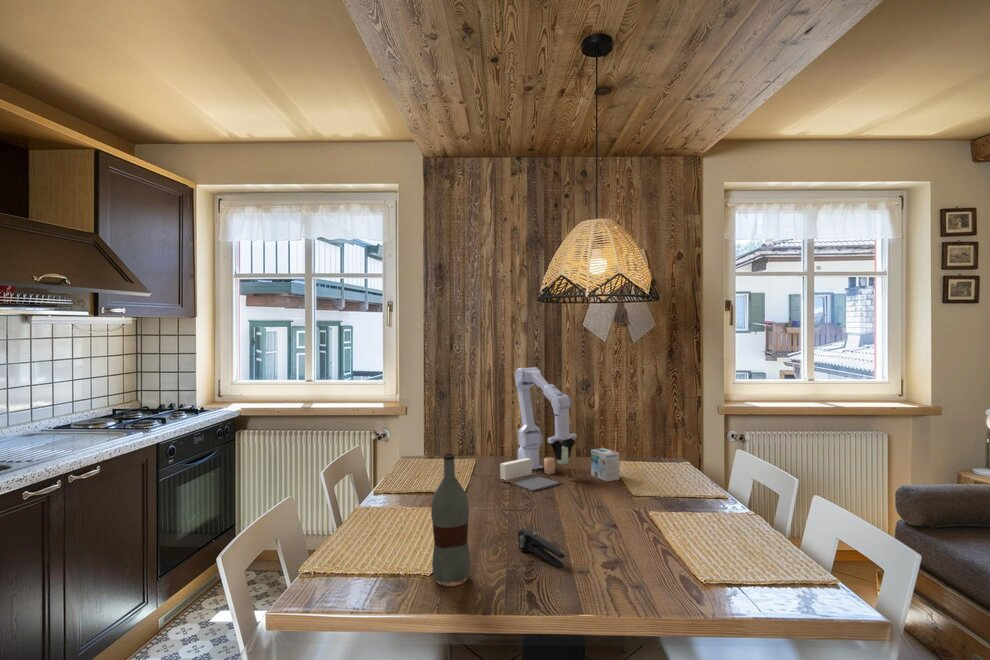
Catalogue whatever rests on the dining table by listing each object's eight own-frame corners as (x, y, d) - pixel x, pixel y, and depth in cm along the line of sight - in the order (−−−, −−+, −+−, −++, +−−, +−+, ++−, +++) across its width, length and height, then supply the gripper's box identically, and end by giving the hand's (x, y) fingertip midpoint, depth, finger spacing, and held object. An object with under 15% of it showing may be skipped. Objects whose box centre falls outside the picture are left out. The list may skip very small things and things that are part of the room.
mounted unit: (498, 480, 209) (498, 463, 209) (526, 474, 218) (526, 457, 218) (505, 483, 206) (504, 465, 206) (533, 476, 215) (532, 459, 215)
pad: (509, 483, 205) (509, 481, 205) (535, 477, 213) (535, 475, 213) (532, 491, 194) (532, 489, 194) (559, 484, 202) (559, 482, 202)
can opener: (511, 548, 143) (511, 528, 143) (532, 542, 147) (531, 522, 147) (551, 572, 128) (550, 550, 128) (573, 565, 132) (572, 543, 132)
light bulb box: (590, 475, 214) (590, 449, 215) (604, 473, 217) (603, 447, 217) (606, 481, 205) (606, 454, 205) (620, 479, 208) (619, 452, 208)
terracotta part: (542, 473, 219) (541, 459, 220) (549, 471, 223) (548, 457, 223) (550, 474, 216) (549, 460, 217) (557, 472, 220) (556, 458, 220)
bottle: (451, 566, 132) (449, 448, 132) (478, 576, 126) (475, 453, 127) (424, 580, 125) (421, 455, 125) (451, 592, 119) (448, 461, 119)
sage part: (555, 462, 211) (554, 447, 211) (562, 460, 214) (562, 446, 214) (562, 464, 207) (562, 449, 207) (570, 462, 210) (570, 447, 210)
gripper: (556, 428, 203) (556, 463, 203) (581, 423, 212) (582, 457, 212) (543, 426, 209) (544, 460, 208) (569, 421, 217) (569, 454, 217)
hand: (562, 458), depth 210 cm, fingers closed on sage part, 4 cm apart
